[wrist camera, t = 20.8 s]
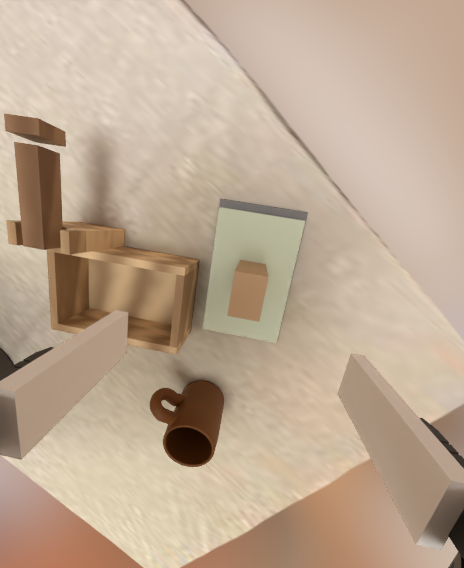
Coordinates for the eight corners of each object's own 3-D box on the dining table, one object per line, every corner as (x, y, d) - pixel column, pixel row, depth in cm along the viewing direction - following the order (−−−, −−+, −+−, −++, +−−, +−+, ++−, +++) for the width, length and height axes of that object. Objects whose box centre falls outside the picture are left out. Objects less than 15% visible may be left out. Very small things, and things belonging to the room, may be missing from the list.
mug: (156, 377, 40) (127, 421, 31) (185, 353, 38) (163, 392, 29) (203, 421, 41) (188, 476, 32) (233, 400, 40) (226, 452, 31)
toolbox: (81, 309, 38) (18, 339, 28) (79, 222, 34) (6, 220, 24) (190, 331, 37) (166, 370, 27) (201, 243, 33) (177, 250, 23)
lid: (221, 208, 31) (205, 200, 22) (302, 221, 31) (323, 219, 21) (205, 322, 36) (186, 359, 26) (275, 336, 35) (282, 378, 25)
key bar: (42, 243, 27) (16, 245, 24) (34, 127, 24) (4, 113, 21) (69, 248, 27) (46, 250, 24) (65, 131, 23) (38, 118, 21)
